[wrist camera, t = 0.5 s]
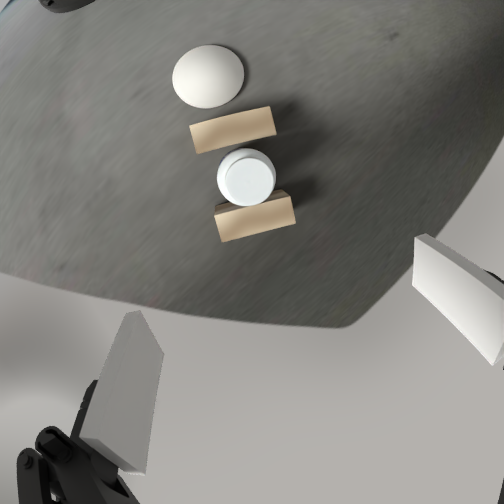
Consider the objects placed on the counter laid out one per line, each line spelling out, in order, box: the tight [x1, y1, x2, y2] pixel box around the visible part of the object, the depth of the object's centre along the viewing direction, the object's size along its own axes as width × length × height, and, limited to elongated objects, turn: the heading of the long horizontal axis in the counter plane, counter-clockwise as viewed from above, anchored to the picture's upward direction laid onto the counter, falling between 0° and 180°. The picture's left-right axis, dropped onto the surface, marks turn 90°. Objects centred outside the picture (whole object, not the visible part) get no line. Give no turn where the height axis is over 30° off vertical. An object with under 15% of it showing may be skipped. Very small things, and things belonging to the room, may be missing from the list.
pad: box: [173, 45, 244, 109], centre depth 26 cm, size 8×8×1 cm
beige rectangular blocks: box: [190, 106, 295, 242], centre depth 29 cm, size 12×8×4 cm, turn 13°
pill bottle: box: [217, 148, 276, 206], centre depth 26 cm, size 5×5×10 cm
